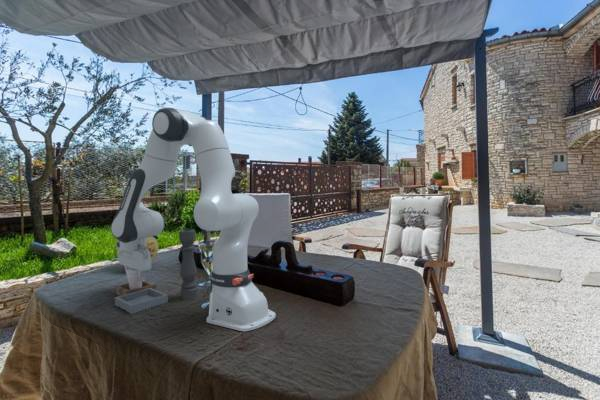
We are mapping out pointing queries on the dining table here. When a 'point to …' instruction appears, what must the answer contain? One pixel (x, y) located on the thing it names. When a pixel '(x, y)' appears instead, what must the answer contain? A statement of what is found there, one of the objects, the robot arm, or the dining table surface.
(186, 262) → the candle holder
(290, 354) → the dining table surface
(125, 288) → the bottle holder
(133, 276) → the smoothie
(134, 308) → the tray
